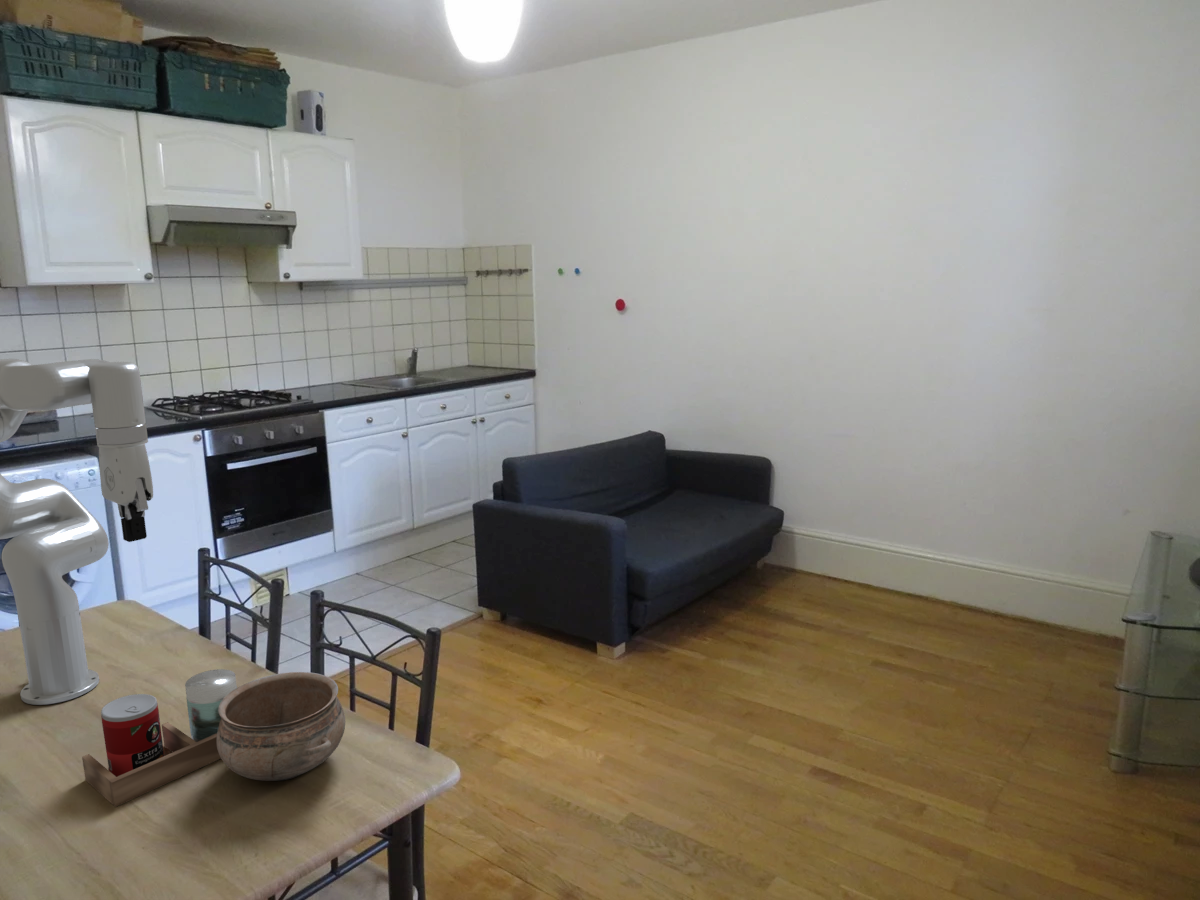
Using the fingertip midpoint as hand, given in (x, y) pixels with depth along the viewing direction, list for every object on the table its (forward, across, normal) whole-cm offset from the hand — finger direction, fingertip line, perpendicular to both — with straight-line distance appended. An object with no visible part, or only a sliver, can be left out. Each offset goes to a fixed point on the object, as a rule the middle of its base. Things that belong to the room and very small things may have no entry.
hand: (135, 539), depth 145 cm
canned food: (+32, +17, -11) cm, 38 cm away
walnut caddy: (+32, +20, -4) cm, 38 cm away
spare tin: (+32, +19, +2) cm, 37 cm away
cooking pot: (+32, +36, +4) cm, 49 cm away
